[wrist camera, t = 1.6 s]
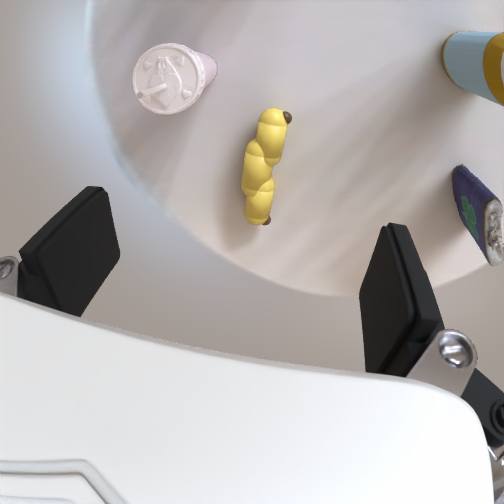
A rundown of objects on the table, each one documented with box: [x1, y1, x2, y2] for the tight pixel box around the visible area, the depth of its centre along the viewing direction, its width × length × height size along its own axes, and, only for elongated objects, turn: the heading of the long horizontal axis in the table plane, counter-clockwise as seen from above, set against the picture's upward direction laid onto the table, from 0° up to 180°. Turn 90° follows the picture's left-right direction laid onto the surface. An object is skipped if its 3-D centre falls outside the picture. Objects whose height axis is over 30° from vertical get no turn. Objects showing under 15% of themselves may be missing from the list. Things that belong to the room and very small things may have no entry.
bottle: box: [442, 31, 504, 106], centre depth 17 cm, size 7×7×15 cm
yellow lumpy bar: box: [241, 108, 292, 225], centre depth 34 cm, size 14×4×3 cm, turn 171°
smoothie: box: [132, 43, 217, 115], centre depth 24 cm, size 6×6×14 cm
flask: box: [452, 164, 504, 266], centre depth 29 cm, size 9×3×11 cm, turn 31°
